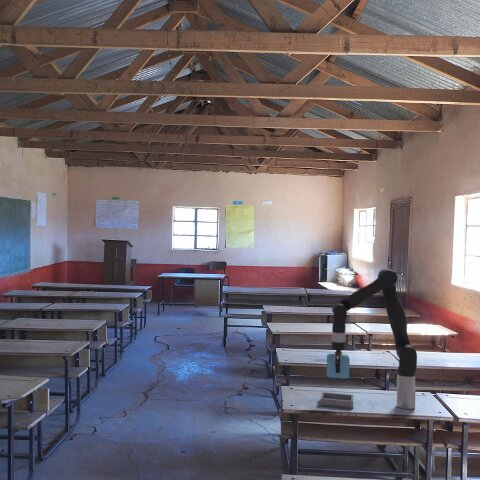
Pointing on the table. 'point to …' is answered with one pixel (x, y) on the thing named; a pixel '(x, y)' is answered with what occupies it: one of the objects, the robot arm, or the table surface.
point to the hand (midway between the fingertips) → (337, 371)
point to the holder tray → (336, 400)
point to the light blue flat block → (343, 366)
